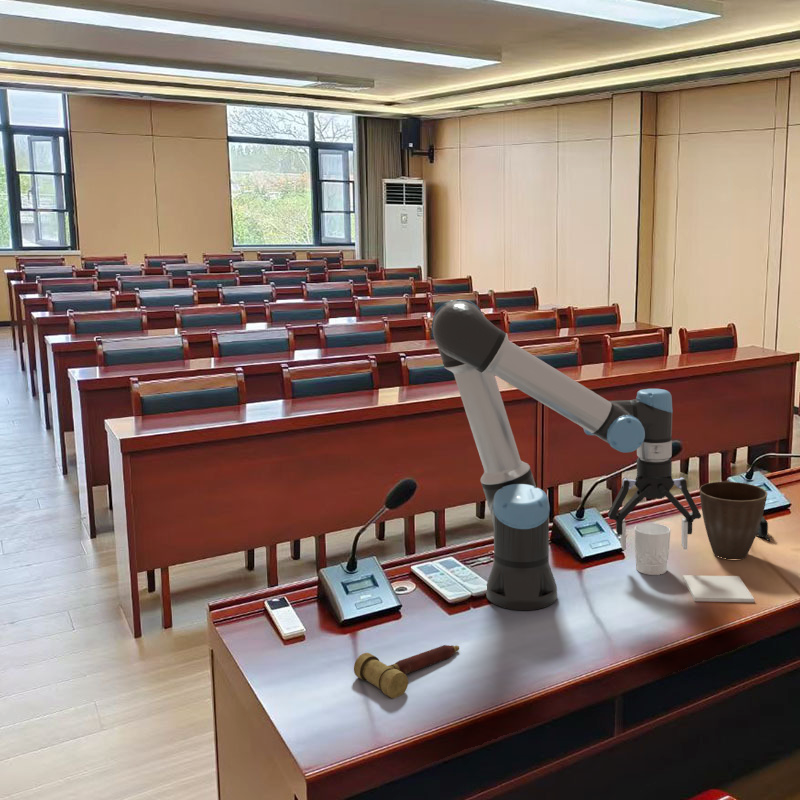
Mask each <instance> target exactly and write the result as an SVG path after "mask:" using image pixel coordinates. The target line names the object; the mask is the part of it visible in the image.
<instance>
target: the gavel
mask: <svg viewBox="0 0 800 800" xmlns="http://www.w3.org/2000/svg"><path fill="white" fill-rule="evenodd" d="M458 651H460V646H459V645H450V644H449V645H447V644H444V645H440V646H439V647H438V646H437V647H435V648H432V649H430V650H429V649H428V650H425V651H424V652H420V653H418V654H415V655H412V656H409V657H406V658H403V659H401V660H398V661H396V662H395V663H393V664H389V665H387V664H385V663H384V662H382V661H380V659H379V658H378V657H377V656H375V655H374V654H372V653H370V652H363V653H361V654H360V655H359V656H358V657H357V658H356V660H355V663H354V665H353V672H354V676H356V677H357V678H359V679H360V680H362V681H364V682H366V681H367V683H370V684H372V686H375V687H377V689H379V690H381V691H382V693H383V694H384V695H386V696H387V697H389V698H391V699H392V700H393V699H396V698H399V697H400V696H402V695H404V694H405V693H406V691H407V689H408V686H409V679H408V676H407V674H410V673H413V672H415V671H418V670H422V669H424V668H426V667H427V668H428V667H429V666H432V665H435V664H438V663H441V662H443V661H445V660H448V659H450V658H451V657H452V656H453V655H454V654H456V653H457V652H458Z"/></svg>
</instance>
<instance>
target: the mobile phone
mask: <svg viewBox="0 0 800 800" xmlns="http://www.w3.org/2000/svg"><path fill="white" fill-rule="evenodd" d="M768 525H769V523H768V520H767V519H766V518H765V517H764V516H762V519H761V523H760V526H759V529H758V531H757V534H756V536H757V537H759V538H760V537H761V538H765V539H766V540H767V541H771V537H769V536H768V534H769V533H768V532H769V526H768Z"/></svg>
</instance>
